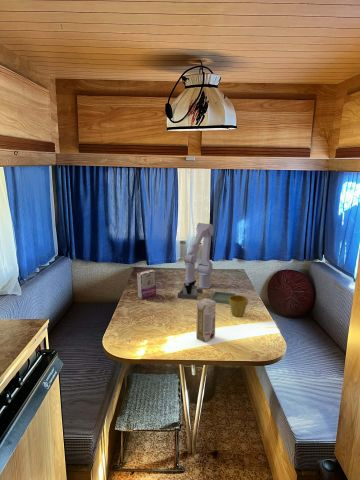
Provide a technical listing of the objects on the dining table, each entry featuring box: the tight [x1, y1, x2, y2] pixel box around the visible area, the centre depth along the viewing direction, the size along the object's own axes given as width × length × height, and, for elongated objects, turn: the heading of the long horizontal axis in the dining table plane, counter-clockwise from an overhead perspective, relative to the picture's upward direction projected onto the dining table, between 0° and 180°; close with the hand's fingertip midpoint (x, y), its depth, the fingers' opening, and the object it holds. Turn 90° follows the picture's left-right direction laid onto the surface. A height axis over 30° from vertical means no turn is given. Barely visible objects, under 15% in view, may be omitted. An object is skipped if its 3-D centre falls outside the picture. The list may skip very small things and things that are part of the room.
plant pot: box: [228, 294, 249, 318], centre depth 204 cm, size 10×10×10 cm
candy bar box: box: [136, 269, 157, 300], centre depth 232 cm, size 11×5×16 cm, turn 129°
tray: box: [209, 290, 237, 305], centre depth 229 cm, size 14×14×2 cm
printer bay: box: [177, 288, 204, 301], centre depth 235 cm, size 13×13×2 cm
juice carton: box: [195, 297, 217, 343], centre depth 176 cm, size 8×9×19 cm
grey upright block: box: [182, 285, 198, 296], centre depth 235 cm, size 5×8×6 cm, turn 71°
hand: (190, 292), depth 235 cm, fingers closed on grey upright block, 4 cm apart
